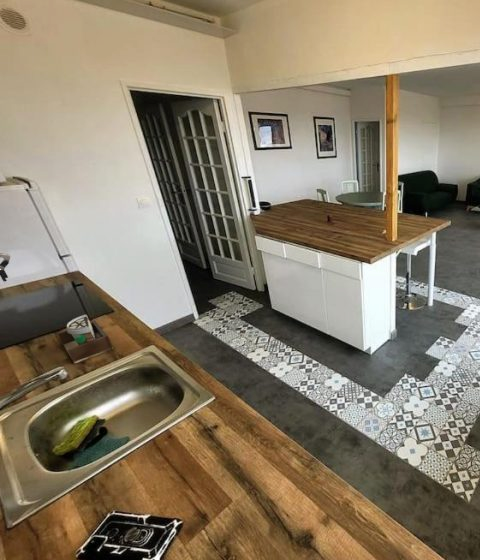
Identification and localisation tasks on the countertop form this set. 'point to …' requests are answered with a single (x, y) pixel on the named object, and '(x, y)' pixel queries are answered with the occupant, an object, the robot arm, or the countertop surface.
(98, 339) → the open brown box
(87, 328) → the food container
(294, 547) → the countertop surface
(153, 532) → the countertop surface
